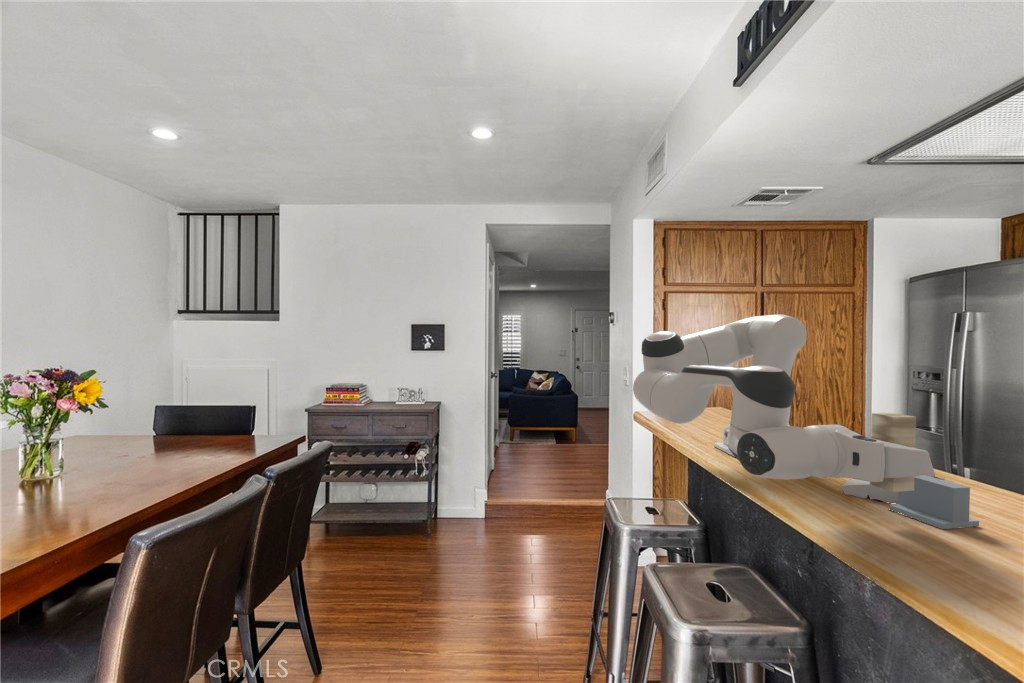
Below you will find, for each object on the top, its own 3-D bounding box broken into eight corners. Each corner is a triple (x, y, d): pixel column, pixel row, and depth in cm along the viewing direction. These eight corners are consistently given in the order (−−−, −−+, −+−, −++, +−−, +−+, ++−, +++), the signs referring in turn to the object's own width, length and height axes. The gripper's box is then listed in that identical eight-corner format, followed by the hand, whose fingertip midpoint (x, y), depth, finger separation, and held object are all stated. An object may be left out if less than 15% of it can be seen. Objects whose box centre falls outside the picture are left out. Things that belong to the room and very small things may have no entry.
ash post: (869, 484, 93) (871, 413, 93) (890, 483, 94) (891, 412, 94) (893, 491, 89) (895, 417, 88) (914, 490, 90) (916, 416, 89)
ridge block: (888, 509, 98) (889, 473, 98) (922, 507, 100) (923, 471, 100) (942, 529, 88) (943, 488, 88) (979, 526, 90) (980, 486, 90)
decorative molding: (847, 509, 107) (904, 508, 100) (840, 485, 108) (897, 483, 101) (887, 480, 130) (936, 477, 123) (881, 461, 131) (929, 457, 124)
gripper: (786, 454, 99) (846, 451, 102) (885, 485, 79) (956, 481, 82) (787, 421, 98) (847, 420, 101) (886, 445, 79) (957, 442, 82)
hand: (896, 447), depth 91 cm, fingers closed on ash post, 4 cm apart
